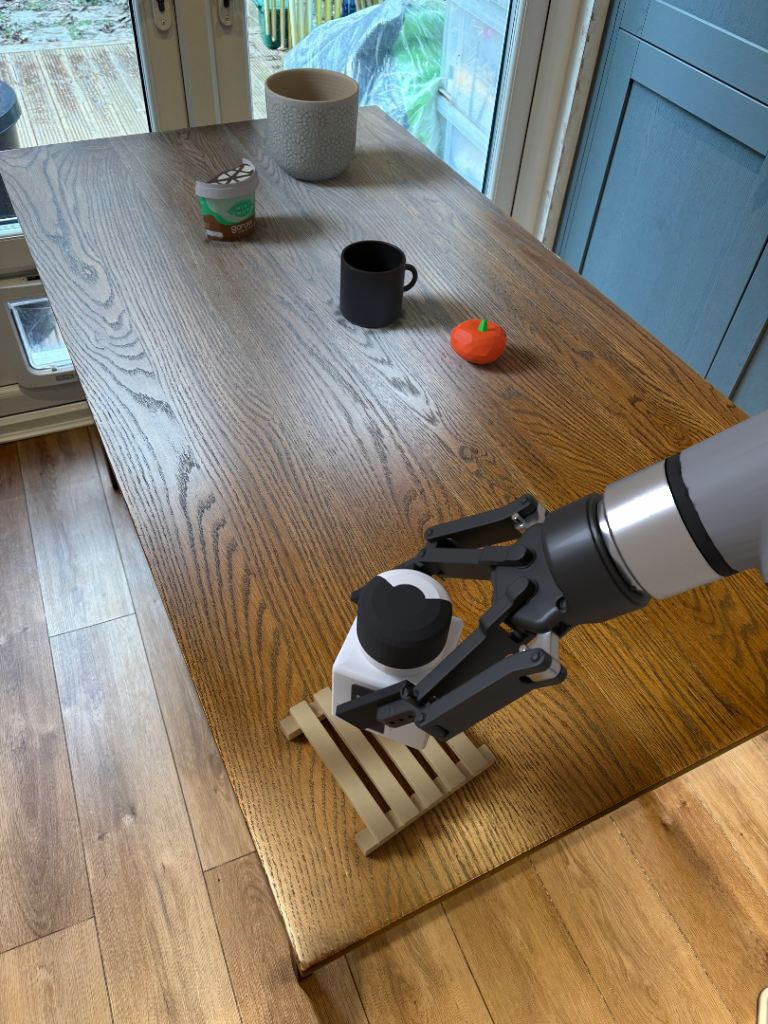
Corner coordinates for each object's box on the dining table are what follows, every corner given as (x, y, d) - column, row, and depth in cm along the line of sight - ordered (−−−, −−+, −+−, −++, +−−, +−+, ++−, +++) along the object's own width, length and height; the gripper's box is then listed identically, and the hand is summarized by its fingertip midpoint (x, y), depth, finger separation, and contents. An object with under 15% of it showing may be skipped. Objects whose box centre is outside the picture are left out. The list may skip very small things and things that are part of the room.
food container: (229, 253, 123) (223, 193, 116) (201, 241, 125) (193, 181, 118) (276, 225, 130) (274, 167, 123) (249, 214, 132) (244, 156, 125)
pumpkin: (451, 338, 110) (457, 299, 106) (505, 347, 110) (513, 309, 105) (444, 366, 106) (449, 327, 101) (500, 376, 105) (508, 337, 100)
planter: (264, 187, 140) (259, 98, 128) (273, 149, 151) (269, 64, 139) (355, 192, 140) (358, 104, 129) (357, 154, 152) (360, 70, 140)
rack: (495, 765, 67) (499, 755, 65) (366, 859, 61) (367, 850, 59) (402, 651, 74) (403, 640, 73) (278, 725, 68) (277, 715, 67)
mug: (426, 320, 113) (433, 265, 106) (351, 333, 110) (353, 277, 103) (403, 287, 119) (408, 234, 112) (331, 298, 116) (332, 244, 109)
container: (423, 753, 57) (443, 665, 47) (330, 718, 59) (331, 626, 49) (452, 670, 62) (476, 575, 52) (365, 640, 64) (372, 542, 54)
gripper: (692, 741, 40) (377, 820, 51) (631, 455, 54) (397, 569, 66) (621, 680, 36) (298, 781, 48) (577, 391, 50) (338, 523, 62)
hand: (356, 657), depth 57 cm, fingers closed on container, 9 cm apart
